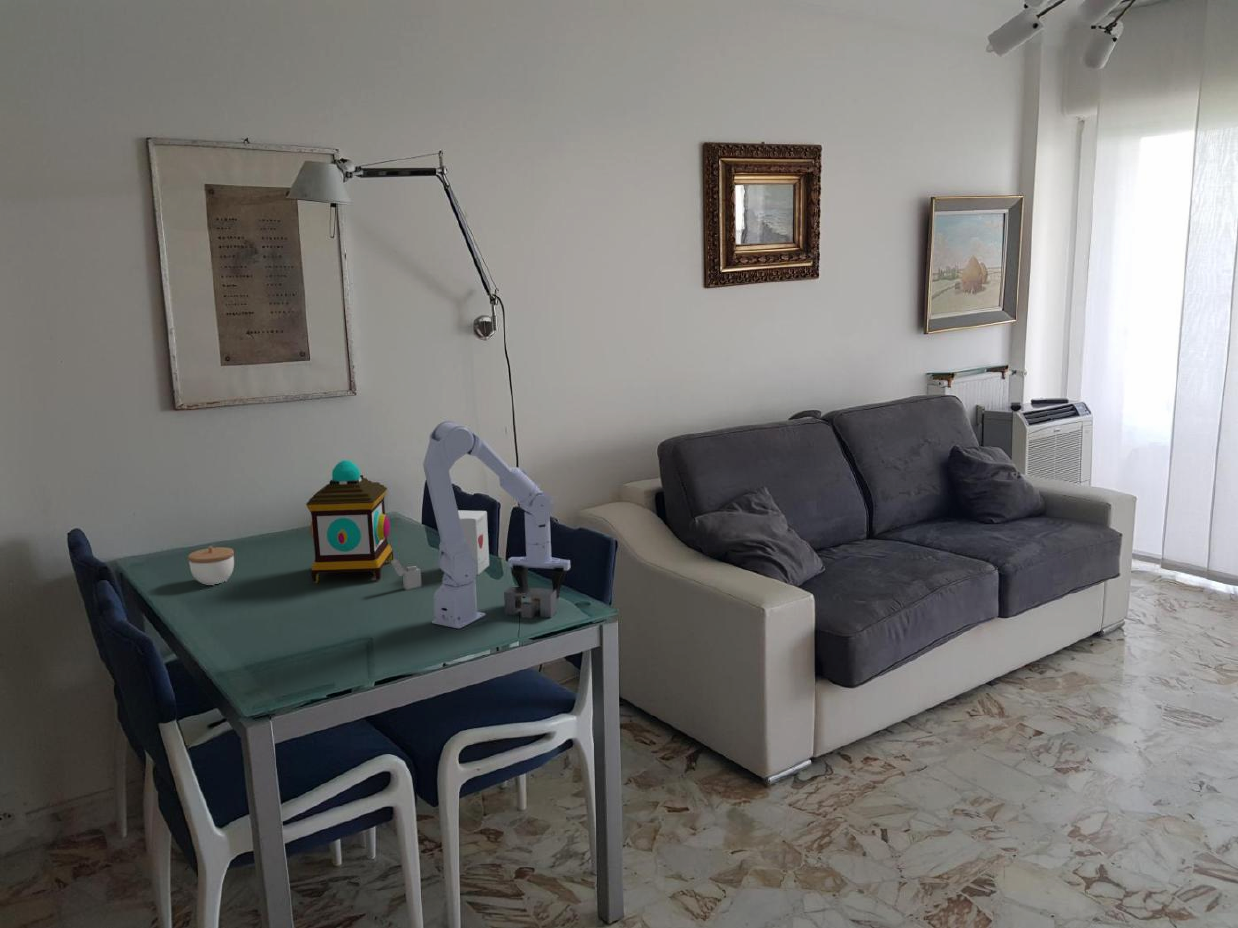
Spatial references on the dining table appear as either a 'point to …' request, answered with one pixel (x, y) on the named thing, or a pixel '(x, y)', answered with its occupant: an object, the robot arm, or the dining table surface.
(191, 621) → the dining table surface
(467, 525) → the supplement box
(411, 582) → the lighter
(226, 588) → the dining table surface
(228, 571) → the lidded jar
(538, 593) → the housing
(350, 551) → the decorative lantern
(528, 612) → the plug
